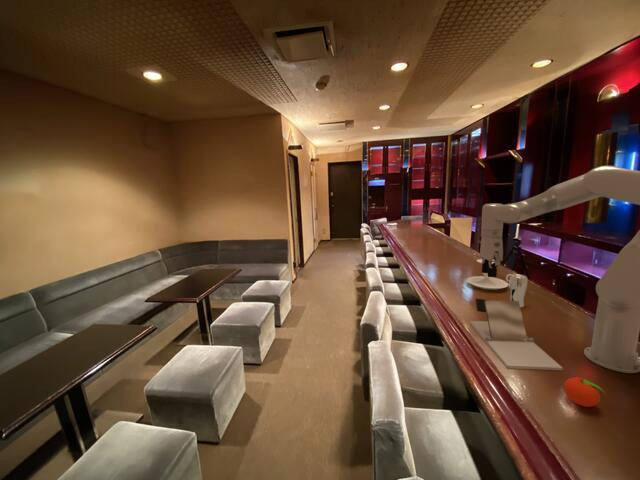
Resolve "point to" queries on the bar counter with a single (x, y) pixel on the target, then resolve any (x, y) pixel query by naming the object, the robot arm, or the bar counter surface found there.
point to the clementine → (582, 391)
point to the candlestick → (488, 281)
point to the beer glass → (518, 288)
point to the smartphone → (481, 305)
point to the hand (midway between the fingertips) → (488, 274)
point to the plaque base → (516, 350)
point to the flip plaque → (505, 319)
